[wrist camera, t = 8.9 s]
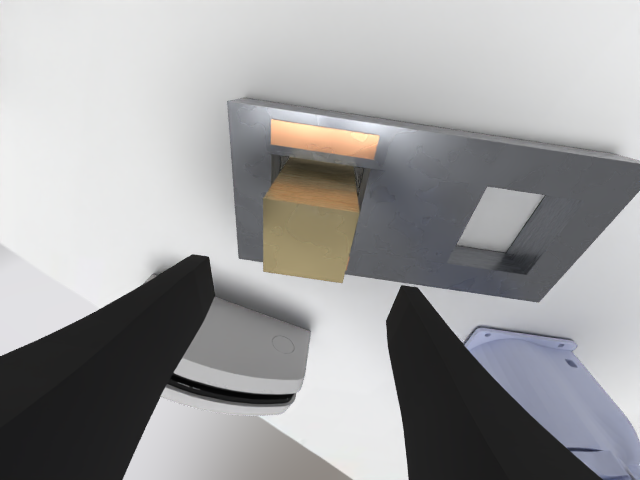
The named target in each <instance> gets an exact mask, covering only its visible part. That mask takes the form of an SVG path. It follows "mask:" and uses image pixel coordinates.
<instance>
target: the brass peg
mask: <svg viewBox="0 0 640 480" xmlns="http://www.w3.org/2000/svg"><path fill="white" fill-rule="evenodd" d="M358 217H359V205H358V197H357V189H356V182H355V174H354V166H348V165H342V164H335V163H328V162H322V161H315V160H308V159H301V158H295V157H290V158H289V159H288V161H287V162H286V164H285V165H284V167H283V168H282V170H281V171H280V173H279V175H278V176H277V178H276V179H275V181H274V182H273V184H272V185H271V187H270V189H269V190H268V192H267V193H266V195H265V196H264V198H263V272H269V273H276V274H283V275H290V276H297V277H304V278H311V279H317V280H324V281H331V282H338V283H343V279H344V275H345V270H346V266H347V262H348V258H349V254H350V250H351V246H352V242H353V237H354V233H355V229H356V225H357V221H358Z"/></svg>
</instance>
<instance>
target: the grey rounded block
mask: <svg viewBox="0 0 640 480" xmlns="http://www.w3.org/2000/svg"><path fill="white" fill-rule="evenodd" d="M156 276H157V275H154V274H152V275H151V276H150V277H149V278H148V280H147V281H146V282H148V281H150V280H151V279H153V278H155V277H156ZM146 282H145V283H146ZM145 283H144V284H145ZM310 334H311V331H308V330H305V329H303V328H300V327H297V326H294V325H292V324H289V323H286V322H283V321H281V320H278V319H275V318H272V317H270V316H267V315H264V314H261V313H259V312H256V311H253V310H250V309H248V308H245V307H242V306H239V305H237V304H234V303H231V302H228V301H226V300H223V299H220V298H218V297H214V299H213V302H212V304H211V306H210V309H209V311H208V313H207V316H206V318H205V320H204V322H203V324H202V325H201V327H200V329H199V331H198V332H197V334H196V336H195V337H194V339H193V341H192V342H191V344H190V346H189V348H188V349H187V351H186V353H185V354H184V356H183V358H182V359H181V361H180V363H179V364H178V366H177V368H176V369H175V371H174V373H173V374H172V376H171V378H170V380H169V381H168V383H167V385H166V387H165V389H164V391H163V392H162V394H161V396H160V397H163V398H165V399H168V400H170V401H173V402H177V403H179V404H183V405H186V406H190V407H193V408H197V409H202V410H206V411H211V412H217V413H224V414H231V415H245V416H265V415H277V414H282V413H283V412H285V411H286V410H287V409H288V407H289V406H290V405H291V404H292V403H293V402H294V400H295V397H296V393H297V392H298V391H299V390H300V389H301V387H302V384H303V380H304V376H305V371H306V364H307V356H308V349H309V342H310Z"/></svg>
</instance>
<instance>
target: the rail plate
mask: <svg viewBox="0 0 640 480" xmlns="http://www.w3.org/2000/svg"><path fill="white" fill-rule="evenodd" d="M227 103H228V117H229V130H230V144H231V158H232V172H233V186H234V199H235V213H236V227H237V241H238V254H239V259H245V260H252V261H259V262H263V198H264V196H265V195H266V193H267V192H268V190H269V189H270V187H271V185H272V184H273V182H274V181H275V179H276V178H277V176H278V175H279V173H280V156H288V157H295V158H301V159H308V160H315V161H322V162H328V163H335V164H342V165H348V166H355V167H362V168H364V172H363V176H362V181H361V185H360V189H359V194H358V205H359V217H358V221H357V225H356V229H355V233H354V237H353V242H352V246H351V250H350V254H349V258H348V262H347V266H346V270H345V274H348V275H354V276H361V277H368V278H375V279H382V280H389V281H395V282H402V283H409V284H416V285H423V286H430V287H436V288H443V289H450V290H457V291H464V292H471V293H477V294H484V295H491V296H498V297H505V298H512V299H518V300H525V301H532V302H540V300H541V299H542V298H543V297H544V296H545V295H546V294H547V293H548V292H549V290H550V289H551V288H552V287H553V286H554V285H555V284H556V283H557V282H558V280H559V279H560V278H561V277H562V276H563V275H564V274H565V273H566V272H567V271H568V269H569V268H570V267H571V266H572V265H573V264H574V263H575V262H576V261H577V259H578V258H579V257H580V256H581V255H582V254H583V253H584V252H585V251H586V250H587V248H588V247H589V246H590V245H591V244H592V243H593V242H594V241H595V240H596V238H597V237H598V236H599V235H600V234H601V233H602V232H603V231H604V230H605V228H606V227H607V226H608V225H609V224H610V223H611V222H612V221H613V220H614V219H615V217H616V216H617V215H618V214H619V213H620V212H621V211H622V210H623V209H624V207H625V206H626V205H627V204H628V203H629V202H630V201H631V200H632V199H633V197H634V196H635V195H636V194H637V193H638V192H639V191H640V161H639V160H635V159H632V158H628V157H624V156H621V155H617V154H612V153H606V152H599V151H593V150H586V149H579V148H573V147H566V146H560V145H553V144H546V143H540V142H533V141H527V140H520V139H513V138H507V137H500V136H494V135H487V134H480V133H474V132H467V131H461V130H454V129H447V128H441V127H434V126H428V125H421V124H414V123H408V122H401V121H395V120H388V119H381V118H375V117H368V116H362V115H355V114H348V113H342V112H335V111H329V110H322V109H315V108H309V107H302V106H296V105H289V104H282V103H276V102H269V101H263V100H256V99H249V98H240V99H235V100H231V101H227ZM487 186H488V187H495V188H502V189H508V190H515V191H522V192H528V193H535V194H542V195H545V197H544V198H543V200H542V201H541V203H540V204H539V206H538V207H537V209H536V210H535V212H534V213H533V214H532V216H531V217H530V219H529V220H528V222H527V223H526V225H525V226H524V228H523V229H522V231H521V232H520V233H519V235H518V236H517V238H516V239H515V241H514V242H513V244H512V245H511V247H510V248H509V250H508V251H507V252H506V253H502V252H496V251H489V250H482V249H475V248H469V247H462V246H456V244H457V242H458V240H459V239H460V237H461V235H462V233H463V231H464V229H465V227H466V225H467V223H468V222H469V220H470V218H471V216H472V214H473V212H474V210H475V208H476V207H477V205H478V203H479V201H480V199H481V197H482V195H483V193H484V191H485V190H486V188H487Z"/></svg>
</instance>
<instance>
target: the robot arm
mask: <svg viewBox="0 0 640 480" xmlns="http://www.w3.org/2000/svg"><path fill="white" fill-rule="evenodd" d="M214 297H215V293H214V286H213V280H212V273H211V267H210V260H209V257H207V256H200V255H193V254H192V255H191V256H189V257H187V258H185V259H184V260H182V261H181V262H179V263H177V264H176V265H174V266H172V267H171V268H169V269H168V270H166V271H164V272H163V273H161V274H160V275H158V276H156V277H155V278H153V279H151V280H150V281H148V282H146V283H145V284H143V285H141V286H140V287H138V288H136V289H135V290H133V291H131V292H130V293H128V294H126V295H124V296H122V297H121V298H119V299H117V300H115V301H114V302H112V303H110V304H108V305H106V306H105V307H103V308H101V309H99V310H98V311H96V312H94V313H92V314H90V315H88V316H86V317H84V318H82V319H80V320H78V321H76V322H74V323H72V324H70V325H68V326H66V327H64V328H62V329H60V330H58V331H56V332H54V333H52V334H50V335H48V336H45V337H43V338H41V339H39V340H37V341H34V342H32V343H30V344H28V345H25V346H23V347H21V348H18V349H16V350H14V351H11V352H9V353H7V354H5V355H2V356H0V480H122V479H123V477H124V475H125V472H126V470H127V468H128V466H129V463H130V461H131V459H132V456H133V454H134V452H135V450H136V448H137V445H138V443H139V441H140V439H141V437H142V434H143V432H144V430H145V427H146V426H147V423H148V421H149V419H150V417H151V415H152V413H153V411H154V409H155V407H156V405H157V403H158V401H159V399H160V396H161V394H162V392H163V391H164V389H165V387H166V385H167V383H168V381H169V380H170V378H171V376H172V374H173V373H174V371H175V369H176V368H177V366H178V364H179V363H180V361H181V359H182V358H183V356H184V354H185V353H186V351H187V349H188V348H189V346H190V344H191V342H192V341H193V339H194V337H195V336H196V334H197V332H198V331H199V329H200V327H201V325H202V324H203V322H204V320H205V318H206V316H207V313H208V311H209V309H210V306H211V304H212V302H213V299H214ZM386 326H387V340H388V349H389V355H390V360H391V365H392V370H393V375H394V380H395V385H396V390H397V395H398V400H399V405H400V410H401V416H402V422H403V429H404V438H405V447H406V456H407V466H408V477H409V480H640V465H639V464H640V442H639V439H638V436H637V434H636V432H635V430H634V428H633V426H632V424H631V423H630V421H629V420H628V418H627V417H626V416H625V414H624V413H623V412H622V411H621V410H620V408H619V407H618V406H617V405H616V404H615V402H614V401H613V400H612V399H611V398H610V396H609V395H608V394H607V393H606V392H605V390H604V389H603V388H602V387H601V386H600V384H599V383H598V382H597V381H596V380H595V378H594V377H593V376H592V375H591V374H590V372H589V371H588V370H587V369H586V368H585V367H584V365H583V364H582V363H581V362H580V361H579V359H578V358H577V357H576V356H575V355H574V353H573V352H572V351H573V350H574V349H575V348H577V344H576V343H575V342H574V341H571V340H564V339H557V338H550V337H543V336H536V335H529V334H522V333H516V332H509V331H502V330H495V329H488V328H478V329H476V331H475V332H474V333H473V334H472V336H471V337H470V338H469V340H468V341H467V342H466V344H465V345H464V344H463V343H462V342H461V341H460V340H459V339H458V337H457V336H456V335H455V334H454V333H453V331H452V330H451V329H450V328H449V326H448V325H447V324H446V323H445V321H444V320H443V319H442V318H441V316H440V315H439V314H438V313H437V311H436V310H435V309H434V308H433V306H432V305H431V304H430V302H429V301H428V300H427V299H426V297H425V296H424V295H423V294H422V292H421V291H420V290H419V289H418V288H417V287H410V286H403V285H401V287H400V290H399V292H398V294H397V297H396V299H395V301H394V304H393V306H392V308H391V311H390V313H389V315H388V318H387V320H386Z"/></svg>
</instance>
